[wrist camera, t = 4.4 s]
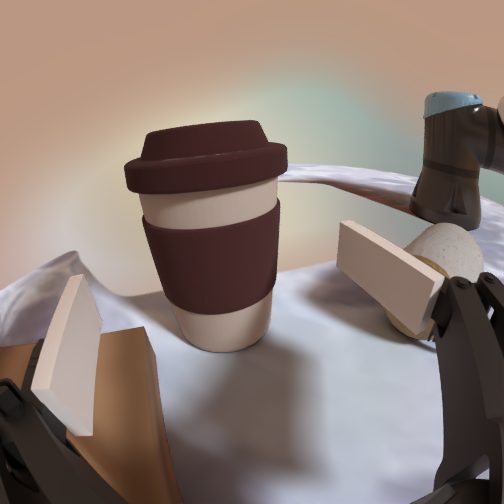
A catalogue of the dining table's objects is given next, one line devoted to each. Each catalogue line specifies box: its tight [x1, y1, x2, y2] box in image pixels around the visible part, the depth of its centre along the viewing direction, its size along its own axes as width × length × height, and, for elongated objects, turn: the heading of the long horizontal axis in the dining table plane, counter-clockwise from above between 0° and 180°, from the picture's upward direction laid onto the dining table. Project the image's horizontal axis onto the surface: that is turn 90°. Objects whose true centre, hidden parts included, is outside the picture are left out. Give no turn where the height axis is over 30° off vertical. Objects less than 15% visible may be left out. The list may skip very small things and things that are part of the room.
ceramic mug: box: [382, 223, 490, 340], centre depth 17 cm, size 11×8×8 cm
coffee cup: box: [124, 120, 288, 352], centre depth 18 cm, size 10×10×15 cm
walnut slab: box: [0, 326, 182, 504], centre depth 10 cm, size 14×14×3 cm
